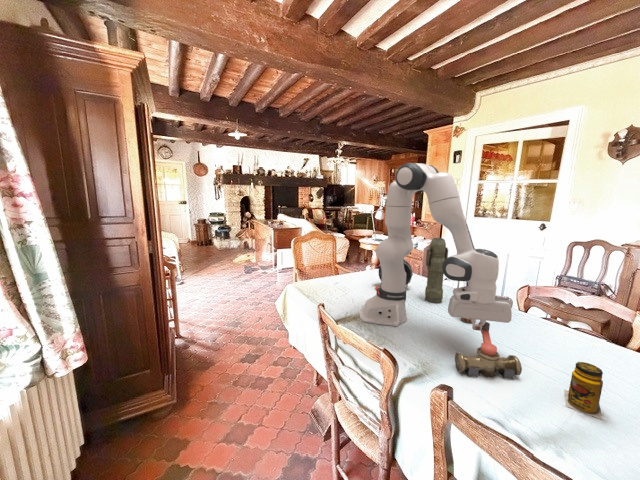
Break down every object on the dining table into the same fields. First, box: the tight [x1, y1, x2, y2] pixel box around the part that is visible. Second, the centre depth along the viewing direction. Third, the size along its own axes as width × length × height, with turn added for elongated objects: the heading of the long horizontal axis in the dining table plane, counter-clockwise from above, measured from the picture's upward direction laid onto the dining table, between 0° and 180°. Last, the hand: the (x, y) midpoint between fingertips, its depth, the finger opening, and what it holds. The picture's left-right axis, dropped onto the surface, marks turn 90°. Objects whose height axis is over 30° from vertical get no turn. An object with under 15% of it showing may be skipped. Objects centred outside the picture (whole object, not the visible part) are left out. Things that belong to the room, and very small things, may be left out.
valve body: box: [454, 346, 523, 380], centre depth 88 cm, size 18×6×7 cm, turn 85°
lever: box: [480, 321, 498, 356], centre depth 92 cm, size 4×16×4 cm, turn 153°
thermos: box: [424, 237, 449, 305], centre depth 145 cm, size 9×12×35 cm
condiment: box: [564, 361, 604, 421], centre depth 74 cm, size 7×8×12 cm
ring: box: [378, 259, 414, 286], centre depth 166 cm, size 11×20×20 cm, turn 89°
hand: (476, 329), depth 99 cm, fingers closed
